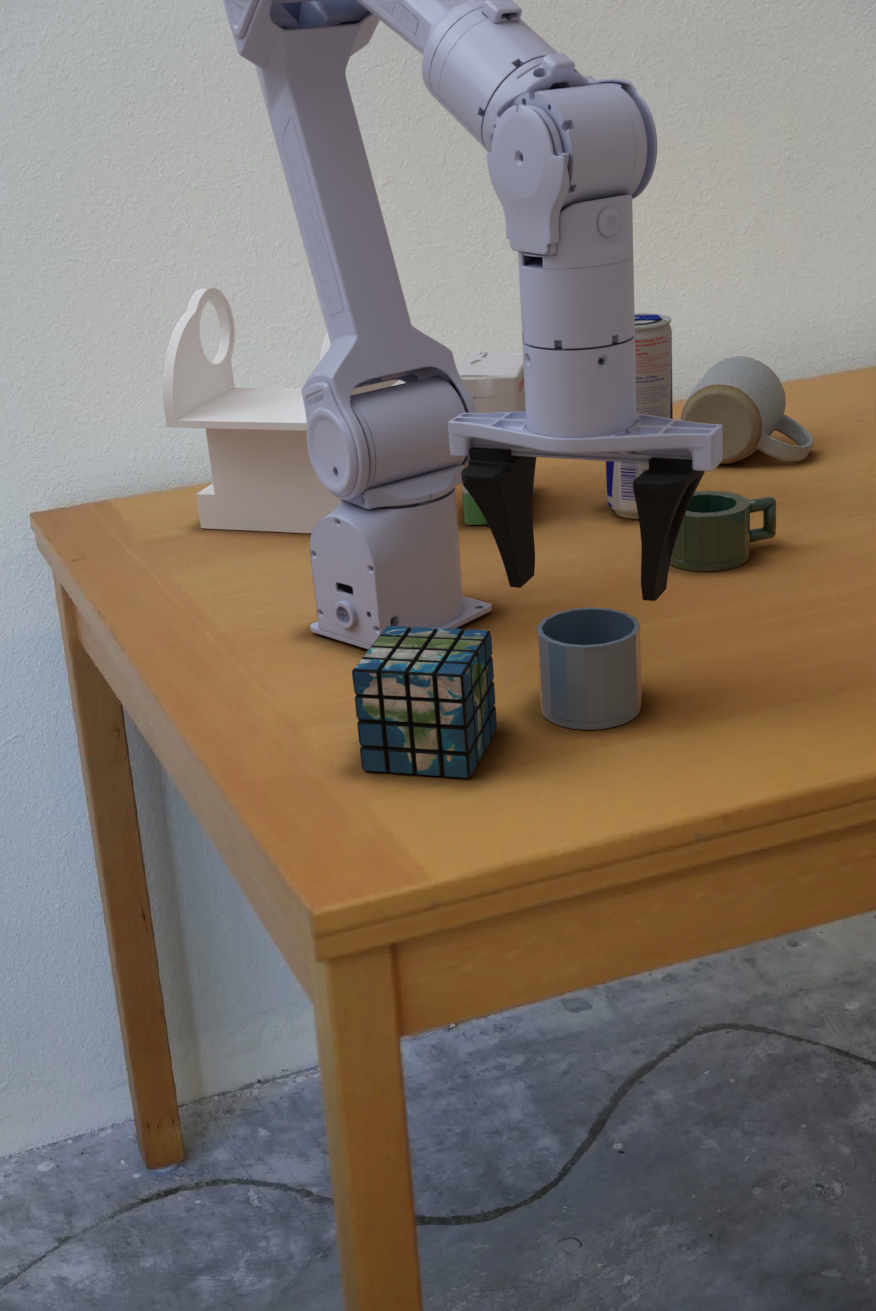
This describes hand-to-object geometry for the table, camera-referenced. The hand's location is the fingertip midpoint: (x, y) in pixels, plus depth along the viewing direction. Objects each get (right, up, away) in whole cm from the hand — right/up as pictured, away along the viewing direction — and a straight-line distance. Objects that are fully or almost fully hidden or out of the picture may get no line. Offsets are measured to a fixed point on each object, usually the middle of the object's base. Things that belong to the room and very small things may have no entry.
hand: (586, 587), depth 81 cm
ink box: (-3, +8, +37) cm, 38 cm away
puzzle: (-9, -9, 0) cm, 12 cm away
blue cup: (0, -7, +3) cm, 7 cm away
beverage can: (+8, +7, +34) cm, 36 cm away
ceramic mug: (+18, +13, +46) cm, 51 cm away
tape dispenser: (-19, +7, +39) cm, 44 cm away
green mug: (+12, +3, +24) cm, 27 cm away
